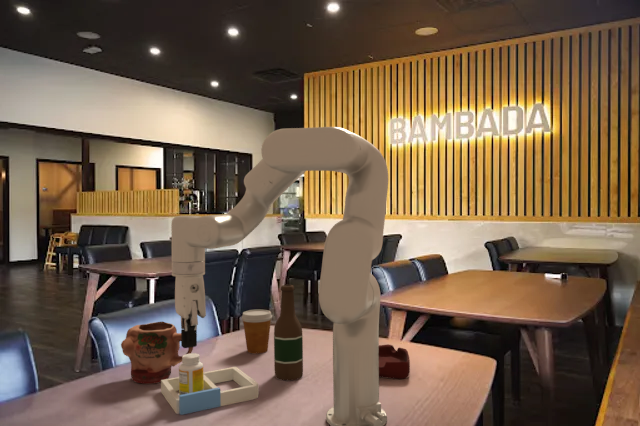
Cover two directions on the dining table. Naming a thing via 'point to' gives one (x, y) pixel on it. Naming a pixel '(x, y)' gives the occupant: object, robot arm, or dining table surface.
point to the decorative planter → (152, 351)
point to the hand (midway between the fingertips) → (189, 346)
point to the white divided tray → (210, 391)
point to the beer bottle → (288, 339)
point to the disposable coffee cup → (257, 330)
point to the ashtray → (393, 362)
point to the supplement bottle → (191, 374)
